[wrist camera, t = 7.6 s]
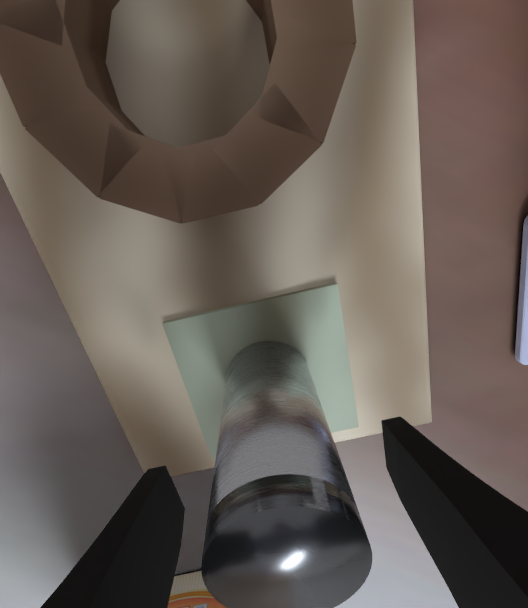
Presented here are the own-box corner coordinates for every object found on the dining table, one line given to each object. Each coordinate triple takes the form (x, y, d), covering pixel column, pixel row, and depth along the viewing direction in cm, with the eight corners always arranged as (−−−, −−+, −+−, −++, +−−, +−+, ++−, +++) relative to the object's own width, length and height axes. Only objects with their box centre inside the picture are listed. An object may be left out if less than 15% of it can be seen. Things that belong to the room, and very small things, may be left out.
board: (386, -209, 9) (460, -432, 6) (421, 410, 17) (462, 459, 14) (-95, -75, 10) (-270, -214, 7) (153, 466, 18) (131, 527, 14)
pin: (301, 332, 14) (363, 490, 6) (315, 403, 15) (379, 603, 8) (217, 350, 14) (178, 526, 6) (237, 418, 15) (225, 632, 8)
